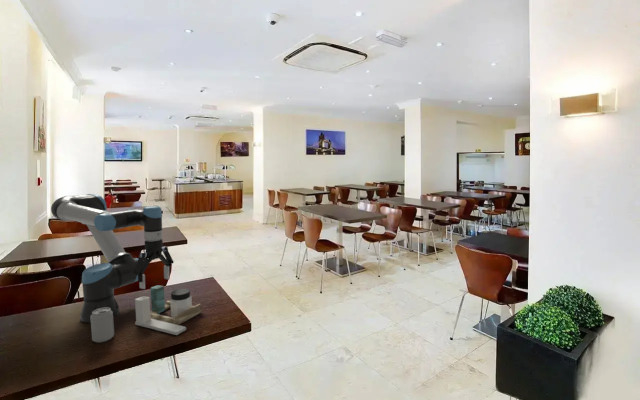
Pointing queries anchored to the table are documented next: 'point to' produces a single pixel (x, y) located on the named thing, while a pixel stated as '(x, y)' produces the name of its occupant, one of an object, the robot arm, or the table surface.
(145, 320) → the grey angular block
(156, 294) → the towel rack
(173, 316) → the jar
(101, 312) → the can
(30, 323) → the table surface
